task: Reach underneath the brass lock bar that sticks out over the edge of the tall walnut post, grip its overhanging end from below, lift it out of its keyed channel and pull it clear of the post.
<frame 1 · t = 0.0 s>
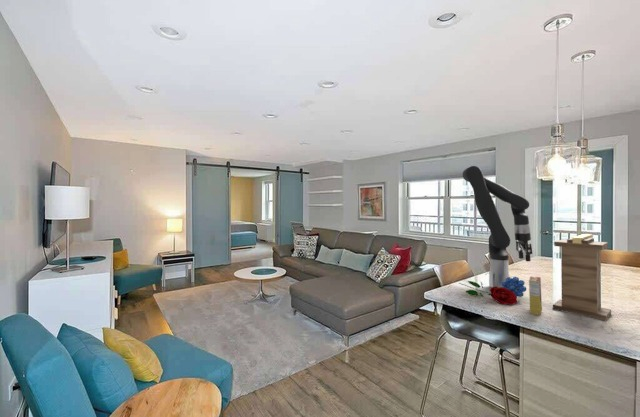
hand: (524, 259, 166), 17 cm above the worktop, tool pointing down, fingers open, 8 cm apart
flower: (484, 298, 152), on the worktop
walnut post: (581, 311, 131), on the worktop
candy box: (535, 311, 132), on the worktop
lock bar: (583, 241, 134), point 32 cm above the worktop, touching walnut post
grapes: (514, 299, 150), on the worktop
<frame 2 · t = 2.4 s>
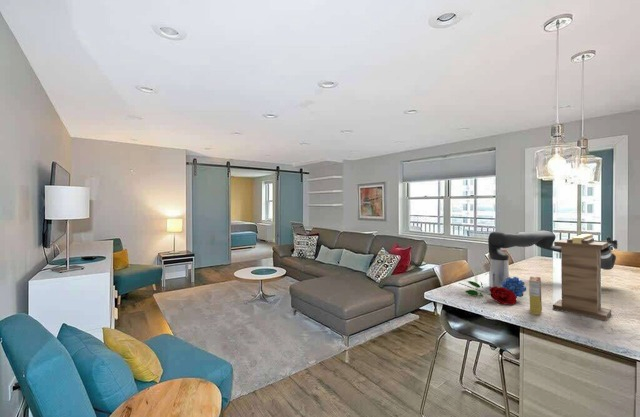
hand: (596, 237, 153), 31 cm above the worktop, tool pointing upward, fingers open, 8 cm apart
nothing on the worktop moved.
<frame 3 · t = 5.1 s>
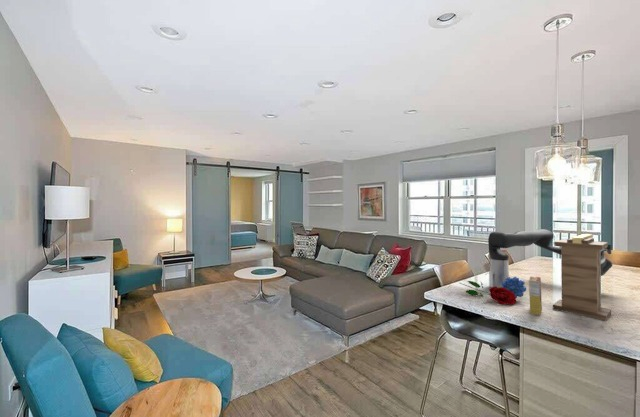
hand: (589, 241, 142), 31 cm above the worktop, tool pointing upward, fingers open, 8 cm apart
nothing on the worktop moved.
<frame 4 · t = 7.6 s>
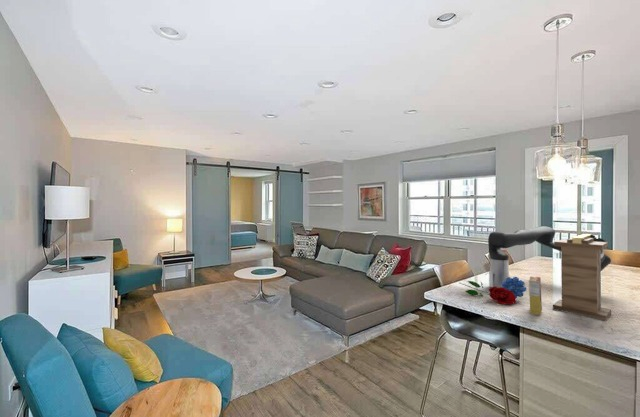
hand: (586, 235, 138), 34 cm above the worktop, tool pointing upward, fingers closed on lock bar, 3 cm apart
lock bar: (583, 241, 134), point 32 cm above the worktop, touching gripper, walnut post
everything else where it was.
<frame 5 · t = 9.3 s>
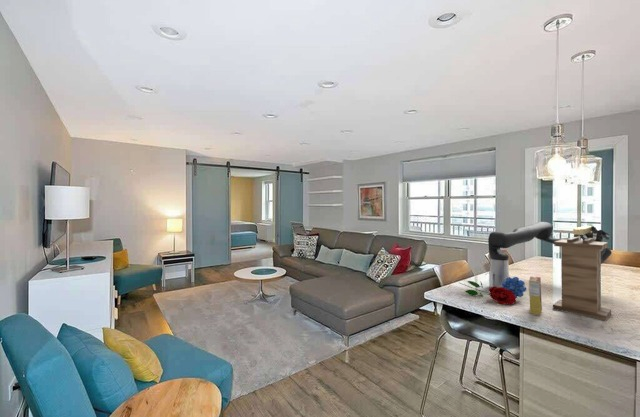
hand: (587, 227, 139), 38 cm above the worktop, tool pointing upward, fingers closed on lock bar, 3 cm apart
lock bar: (583, 232, 135), point 36 cm above the worktop, touching gripper
everything else where it was.
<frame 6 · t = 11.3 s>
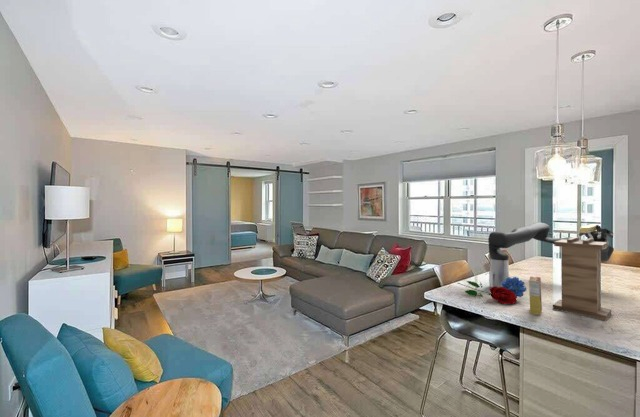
hand: (592, 226, 146), 38 cm above the worktop, tool pointing upward, fingers closed on lock bar, 3 cm apart
lock bar: (589, 231, 142), point 36 cm above the worktop, touching gripper
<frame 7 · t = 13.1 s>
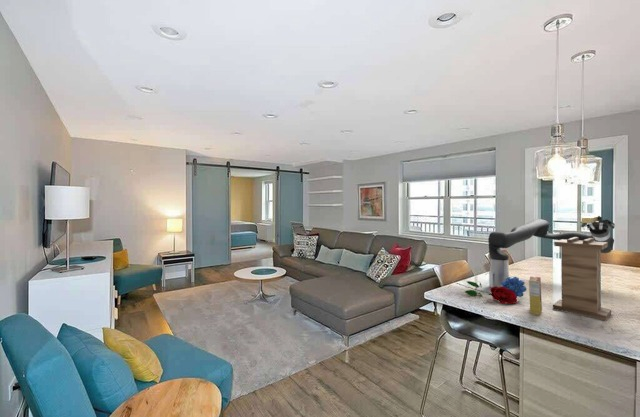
hand: (594, 217, 149), 42 cm above the worktop, tool pointing upward, fingers closed on lock bar, 3 cm apart
lock bar: (591, 221, 145), point 40 cm above the worktop, touching gripper
everything else where it was.
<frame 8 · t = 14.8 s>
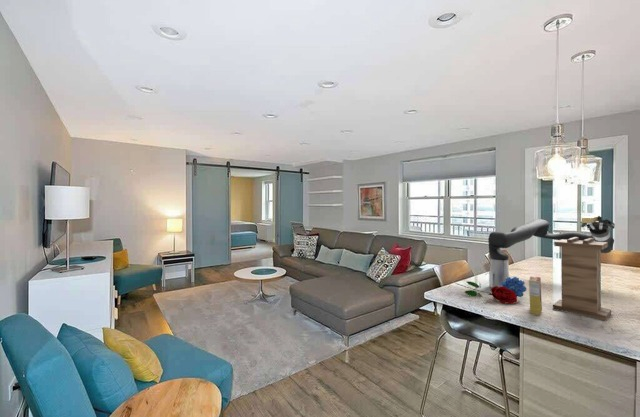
hand: (594, 217, 149), 42 cm above the worktop, tool pointing upward, fingers closed on lock bar, 3 cm apart
lock bar: (591, 221, 145), point 40 cm above the worktop, touching gripper
at the end: the gripper is holding lock bar; lock bar moved 19.7 cm from its start; lock bar touching gripper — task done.
